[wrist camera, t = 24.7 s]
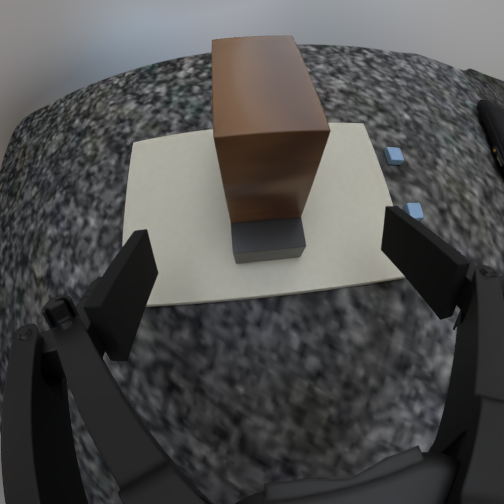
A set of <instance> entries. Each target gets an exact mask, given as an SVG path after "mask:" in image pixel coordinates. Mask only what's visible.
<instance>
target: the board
mask: <svg viewBox="0 0 504 504" xmlns="http://www.w3.org/2000/svg"><path fill="white" fill-rule="evenodd" d="M328 124H329V127H330V130H331V131H330V134H329V137H328V140H327V143H326V146H325V149H324V153H323V155H322V158H321V161H320V164H319V167H318V170H317V173H316V176H315V179H314V182H313V185H312V188H311V191H310V193H309V196H308V199H307V202H306V205H305V208H304V210H303V213H302V216H301V218H302V224H303V230H304V235H305V241H306V247H305V249H304V251H303V253H302V255H301V257H298V258H288V259H279V260H269V261H259V262H249V263H239V264H236V263H235V259H234V255H233V247H232V235H231V222H230V218H229V213H228V208H227V203H226V198H225V193H224V189H223V184H222V179H221V174H220V169H219V164H218V159H217V153H216V148H215V143H214V138H213V129H210V130H203V131H195V132H188V133H182V134H176V135H170V136H164V137H159V138H153V139H148V140H143V141H138V142H134V143H133V149H132V155H131V161H130V169H129V176H128V184H127V193H126V203H125V214H124V227H123V244H122V247H123V246H124V244H125V243H126V241H127V240H128V239H129V237H130V236H131V234H132V233H133V232H134V231H136V230H143V229H147V230H148V235H149V239H150V243H151V247H152V250H153V254H154V258H155V262H156V266H157V269H158V276H157V278H156V281H155V284H154V286H153V289H152V291H151V294H150V297H149V299H148V302H147V305H146V307H155V306H171V305H186V304H199V303H212V302H223V301H234V300H245V299H255V298H265V297H274V296H283V295H292V294H300V293H308V292H316V291H324V290H331V289H338V288H346V287H353V286H359V285H366V284H373V283H379V282H385V281H391V280H398V279H403V278H406V277H405V276H404V275H403V274H402V273H401V272H400V271H399V269H398V268H397V267H396V266H395V265H394V264H393V263H392V262H391V260H390V259H389V258H388V257H387V256H386V255H385V254H384V253H383V252H382V251H381V243H382V235H383V226H384V217H385V206H393V204H392V201H391V198H390V194H389V191H388V188H387V185H386V182H385V179H384V176H383V173H382V170H381V167H380V165H379V162H378V159H377V157H376V154H375V151H374V149H373V146H372V143H371V141H370V138H369V136H368V134H367V131H366V129H365V126H364V124H359V123H328Z"/></svg>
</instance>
